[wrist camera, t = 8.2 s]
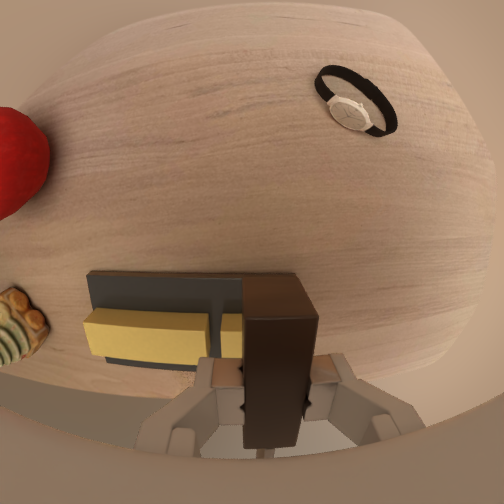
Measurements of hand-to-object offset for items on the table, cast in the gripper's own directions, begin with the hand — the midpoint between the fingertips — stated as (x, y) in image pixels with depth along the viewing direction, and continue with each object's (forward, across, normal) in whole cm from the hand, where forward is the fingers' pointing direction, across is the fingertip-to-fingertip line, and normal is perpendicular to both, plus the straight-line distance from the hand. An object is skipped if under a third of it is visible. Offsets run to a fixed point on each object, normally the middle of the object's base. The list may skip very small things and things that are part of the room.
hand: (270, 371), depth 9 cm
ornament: (+16, +27, +8) cm, 32 cm away
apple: (+16, +22, -9) cm, 28 cm away
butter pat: (+14, +2, +7) cm, 16 cm away
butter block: (+14, +9, +7) cm, 18 cm away
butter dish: (+15, +6, +7) cm, 18 cm away
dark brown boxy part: (+2, 0, +3) cm, 3 cm away
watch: (+15, -8, -13) cm, 22 cm away
